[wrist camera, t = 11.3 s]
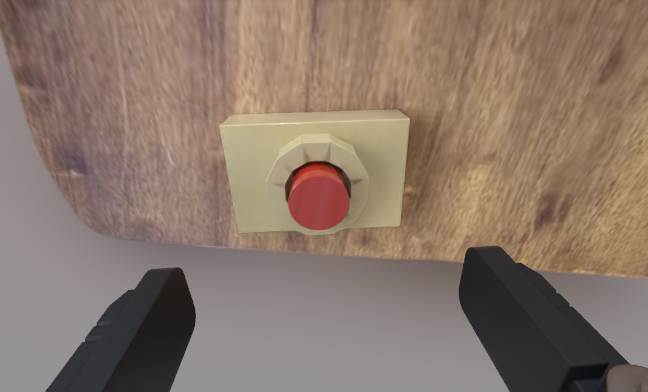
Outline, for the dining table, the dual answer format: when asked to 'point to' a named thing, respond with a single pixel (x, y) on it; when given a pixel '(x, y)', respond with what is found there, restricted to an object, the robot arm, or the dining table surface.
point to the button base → (316, 148)
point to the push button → (318, 197)
